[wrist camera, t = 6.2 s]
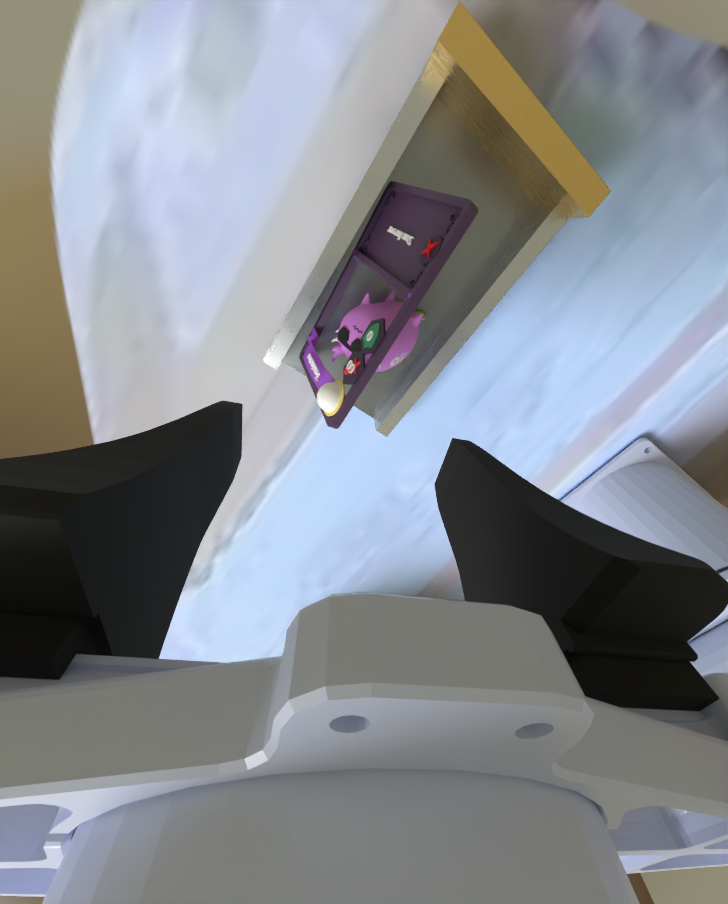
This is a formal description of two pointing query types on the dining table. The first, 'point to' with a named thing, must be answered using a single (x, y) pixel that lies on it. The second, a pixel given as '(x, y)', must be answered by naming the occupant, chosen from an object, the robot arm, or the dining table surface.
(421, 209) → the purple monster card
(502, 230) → the drawer
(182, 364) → the dining table surface
